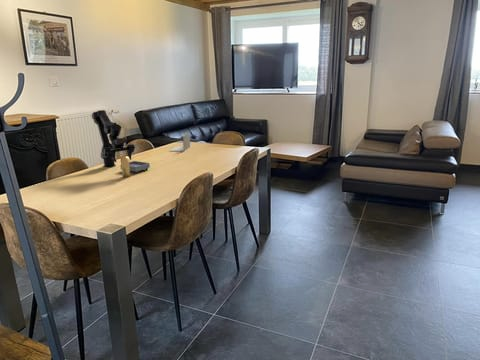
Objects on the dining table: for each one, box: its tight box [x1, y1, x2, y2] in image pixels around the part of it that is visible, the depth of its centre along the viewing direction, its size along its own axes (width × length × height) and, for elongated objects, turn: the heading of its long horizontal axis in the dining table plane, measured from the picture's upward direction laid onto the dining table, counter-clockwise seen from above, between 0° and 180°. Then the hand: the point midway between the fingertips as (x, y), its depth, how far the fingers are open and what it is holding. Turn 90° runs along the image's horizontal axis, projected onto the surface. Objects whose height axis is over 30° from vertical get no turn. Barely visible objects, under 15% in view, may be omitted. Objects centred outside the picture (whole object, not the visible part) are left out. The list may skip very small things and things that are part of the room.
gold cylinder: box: [120, 155, 131, 179], centre depth 222 cm, size 5×5×12 cm
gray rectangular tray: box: [119, 160, 151, 174], centre depth 238 cm, size 14×12×4 cm
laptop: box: [169, 132, 191, 153], centre depth 301 cm, size 18×12×13 cm
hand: (123, 160), depth 223 cm, fingers open, 9 cm apart
